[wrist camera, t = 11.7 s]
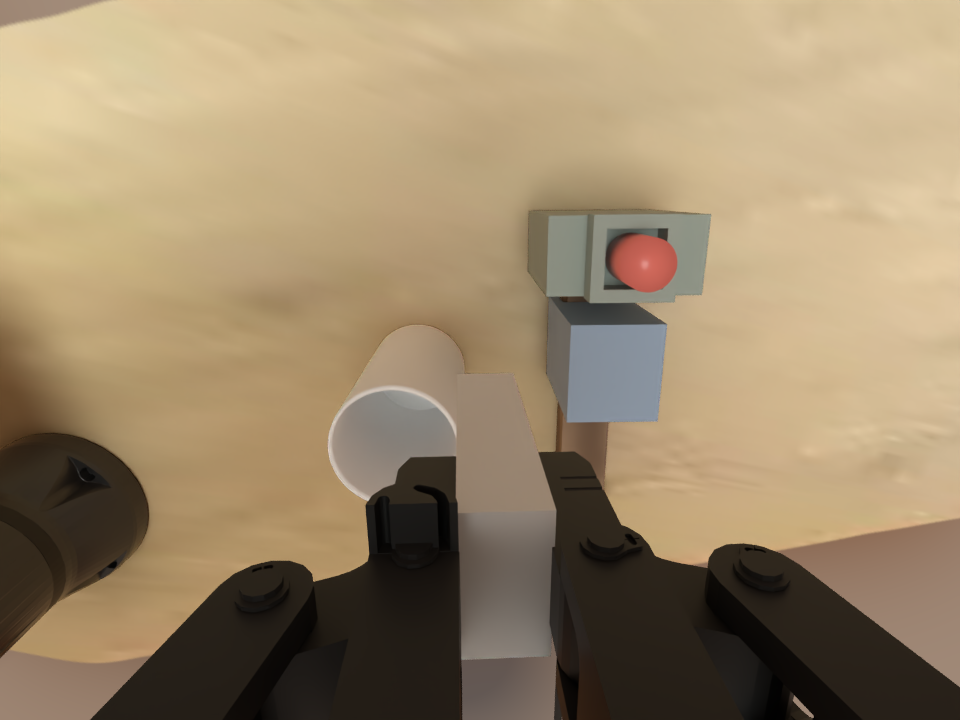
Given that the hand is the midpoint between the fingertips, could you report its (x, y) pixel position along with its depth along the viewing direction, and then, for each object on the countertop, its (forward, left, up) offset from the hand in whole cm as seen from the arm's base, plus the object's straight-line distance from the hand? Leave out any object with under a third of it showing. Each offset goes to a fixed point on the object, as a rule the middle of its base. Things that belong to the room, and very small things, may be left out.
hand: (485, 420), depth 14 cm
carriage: (+9, -6, -32) cm, 34 cm away
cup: (-5, -9, -33) cm, 34 cm away
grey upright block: (+9, +2, -32) cm, 34 cm away
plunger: (+9, +2, -20) cm, 22 cm away
